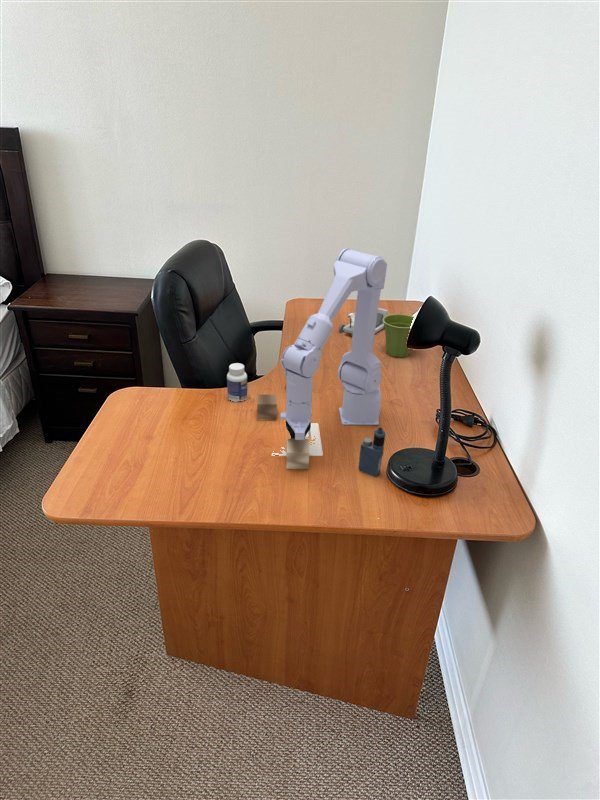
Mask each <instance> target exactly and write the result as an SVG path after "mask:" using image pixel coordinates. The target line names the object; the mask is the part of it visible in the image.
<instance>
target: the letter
mask: <svg viewBox="0 0 600 800" xmlns="http://www.w3.org/2000/svg"><path fill="white" fill-rule="evenodd" d="M308 433H309V434H308ZM308 433H307V434H306V437H308V436H310V435H311V437H310V438H311V440H313V439H315V438H316V439H315V441H310V442H312V443H310V442H309V443H310V444H312V445H310V444H309V457H312V456H313V457H315V456H316V457H317V456H318V457H320V456H321V457H322V456H324V453H323V452H324V451H323V446H322V440H321V434H320V425H319V423H318V422H311V428H310V430H309V431H308ZM314 436H315V437H314ZM306 437H305V439H310V438H306ZM313 443H315V444H313ZM285 446H286V447H287V445H285ZM281 448H282V449H285V450H287V448H284V447H281ZM280 451H281V450H280ZM273 452H274V451H273ZM281 452H282V453H283V454H279V453H272V454H271V457H276V456H275V455H279V456H278V457H287V451H284V450H283V451H281ZM273 454H275V455H273Z"/></svg>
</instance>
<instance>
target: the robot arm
mask: <svg viewBox="0 0 600 800" xmlns="http://www.w3.org/2000/svg"><path fill="white" fill-rule="evenodd" d="M387 266H388V263H387V261H385V259H384V257H382V256H381V255H374V254H369V253H366V252H362V251H358V250H354V249H351V248H348V247H346V248H344V249H342V250H341V251H340V252H339V253H338V256H337V257H336V261H335V262H334V264H333V275H334V277H333V280H332V281H331V284H330V285H329V288H328V290H327V292H326V294H325V297H324V299H323V300H322V303H321V305H320V308H319V309H318V312H317V313H314V314H311V315H310V316H309V317H308V319H307V321H306V323H304V326H303V327H302V330H301V331H300V333H299V335H298V336H297V338H296V340H295V342H294V343H293V344H292V345H289V346H287V347H286V348H285V349H284V351H283V353H282V356H281V359H280V365H281V367H282V368H283V374H284V376H285V379H286V384H285V387H286V389H285V411H284V412H280V419H281V420H285V423H286V429H287V430H288V432H289V434H290V437H291V438H295V440H304V439H305V437H306V434H307V433H308V431H309V430H310V428H311V423H312V422H311V421H312V419H313V414H312V410H313V409H312V406H313V385H314V384H313V383H314V375H315V374H316V372H317V371H318V369H319V367H320V363H321V359H322V354H323V352H322V350H323V348H324V347H325V345H326V343H327V341H328V339H329V338H330V336H331V334H332V332H333V330H334V326H333V325H334V324H333V320H334V319H335V317H336V316H337V314H338V313H339V311H340V310H341V308H342V307H343V305H344V303H345V302H346V301H347V299H348V298H349V297H350V295H351V294H352V292H356V291H357V295H356V304H355V311H354V313H355V319H354V328H353V334H352V338H351V345H350V346H351V347H350V350H349V351H346V352H345V353H344V354H343V355H342V356H341V360H340V364H339V366H338V369H337V377H338V380H339V381H340V382H341V386H342V387H343V394H342V396H343V397H342V406H341V407H338V411H339V417H340V422H341V425H342V426H371V425H372V426H377V425H379V424H380V421H379V420H380V411H381V403H382V392H381V389H380V384H381V381H382V371H381V370H382V369H381V368H382V367H381V365H382V362H381V360H380V359H379V358H378V357H377V356H376V355H375V353H374V352H373V348H374V343H375V342H374V341H375V335H376V333H375V328H376V321H377V314H378V308H379V305H380V298H381V291H382V290H384V289H385V288H384V287H385V282H386V276H387Z"/></svg>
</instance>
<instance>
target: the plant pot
mask: <svg viewBox="0 0 600 800" xmlns="http://www.w3.org/2000/svg"><path fill="white" fill-rule="evenodd" d="M414 317H415V316H412V315H409V314H403V313H392V314H388V315H387V316H385V317H383V322H384V328H385V329H384V328H383V329H384V330H385V349H386V354H387V355H389V356H391V357H398V358H405V357H408V356H409V355H410V351H411V349H408V348H407V347H406V342H407V337H408V334H409V330H410V326H411V323H412V320H413V318H414Z"/></svg>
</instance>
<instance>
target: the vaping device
mask: <svg viewBox="0 0 600 800" xmlns="http://www.w3.org/2000/svg"><path fill="white" fill-rule="evenodd" d="M385 439H386V431H385V430H384V428H382V427H378V428H377V429H376V430H374V433H373V438H371V437H364V438H363V441H362V442H361V444H360V448H359V449H360V450H359V460H358V461H359V462H358V469H359V471H360V472H362V473H364V474H366V475H369V476H372V477H375V478H376V477H378V476H379V475H380V473H381V467H382V460H383V459H382V458H383V455H384V450H385V441H386V440H385Z"/></svg>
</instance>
